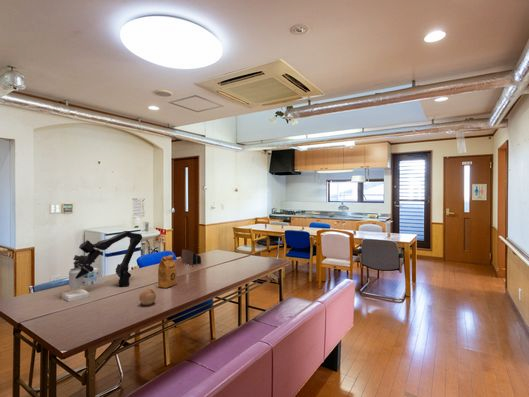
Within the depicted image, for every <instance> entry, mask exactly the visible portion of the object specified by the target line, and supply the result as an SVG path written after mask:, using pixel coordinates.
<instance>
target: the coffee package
mask: <svg viewBox="0 0 529 397" xmlns="http://www.w3.org/2000/svg"><path fill="white" fill-rule="evenodd" d="M173 258H174V255H173V254H170V255H168V256H163V257H161V259H160V261H159V263H158V267H157V281H158V282H157V284H158V285H157V286H158V288H164V289H167V288H170V287H173V286H176V285H177V283H178V278H177V273H178V272H177V266H176V264H175V262H174V259H173Z"/></svg>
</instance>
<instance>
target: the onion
mask: <svg viewBox="0 0 529 397" xmlns="http://www.w3.org/2000/svg"><path fill="white" fill-rule="evenodd" d="M138 298H139V302H140V303H141V304H142V305H144V306H150V305H152V304H153V303H154V302H155V301H156V299H157V294H156V292H155V291H154V290H153V288H148V289H144V290H142V291H141V292H140V294H139V297H138Z"/></svg>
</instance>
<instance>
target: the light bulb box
mask: <svg viewBox="0 0 529 397" xmlns="http://www.w3.org/2000/svg"><path fill="white" fill-rule="evenodd" d="M93 268H94V270H93V271H92V272H90V271H89V272H90V273H87V274H85V275H83V285H82V286H87V287H88V286H92V285H94V284H97V283H99V282H100V269H99V267H93Z"/></svg>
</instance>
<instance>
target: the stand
mask: <svg viewBox="0 0 529 397" xmlns="http://www.w3.org/2000/svg"><path fill="white" fill-rule="evenodd" d="M89 297H90V293H89V292H88V291H87V290H85V289H84V288H77V289H74V290H69V291H65V292H62V294H61V298H62V299H63V300H65V301H66V302H73V301H77V300H80V299H81V300H82V299H85V298H89Z"/></svg>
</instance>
